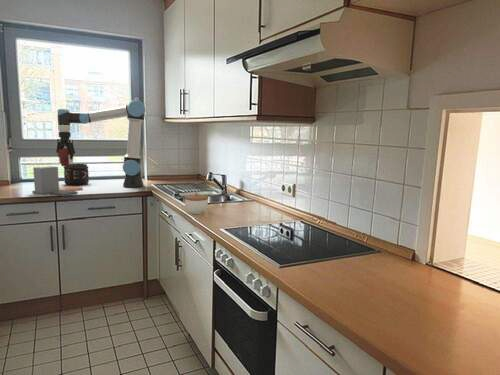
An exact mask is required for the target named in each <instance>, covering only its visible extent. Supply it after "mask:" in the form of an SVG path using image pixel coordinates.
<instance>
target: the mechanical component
mask: <svg viewBox="0 0 500 375" xmlns="http://www.w3.org/2000/svg"><path fill="white" fill-rule="evenodd" d="M70 153H71V152H70ZM68 154H69V152H68V150H67V147H64V148H62V150H59V154H58V153H57V157H58V158H59V157H60V160H61V163H60V164H61V167H64V166H71V164H69V156H68ZM74 155H75V154H73V157H74Z"/></svg>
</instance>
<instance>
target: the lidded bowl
mask: <svg viewBox="0 0 500 375" xmlns="http://www.w3.org/2000/svg"><path fill="white" fill-rule="evenodd" d="M208 202H209V195H207V194H199V193H198V192H195V193H194V194H188V195H187V194H186V195H185V196H184V204H185V208H186V210H187V211H188V212H189V213H190V214H192V215H201V214H203V213H204V212H205V211H206V209H207V208H208Z"/></svg>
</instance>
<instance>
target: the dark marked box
mask: <svg viewBox="0 0 500 375" xmlns="http://www.w3.org/2000/svg"><path fill="white" fill-rule="evenodd" d="M63 176H64V181H63V182H64V184H65V185H66V186H74V187H81V186H87V185H88V184H89V183H90V180H89V178H90V177H89V166H88V164H86V163H73V164H71V166H63Z"/></svg>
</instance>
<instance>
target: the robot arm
mask: <svg viewBox="0 0 500 375" xmlns="http://www.w3.org/2000/svg"><path fill="white" fill-rule="evenodd" d="M145 112H146V106H145V104H144V103H143V102H142V101H141V100H137V99H136V100H135V99H133V100H131V101H130V102H129V103H128V104H124V106H120V107H119V106H117V107H113V108H105V109H100V110H99V109H98V110H94V111H93V110H92V111H87V112H83V111H82V112H75V111H73V112H72V111H70V109H68V108H59V109H58V110H57V128H58V130H57V131H58V133H57V134H58V138H57V140H56V141H57V144H56V153H57V155H58V154H59V150H62V148H67V150H68V152H69V154H68V156H69V164H74V156H73V154H74V155H75V154H76V151H75V147H74V141H73V139H70V138H71V137H72V136H71V124H82V125H86V124H90V123H94V122H102V121H107V120H114V119H120V118H126V119H127V120H128V131H127V146H126V154H125V155H124V156H123V164H122V170H123V172H124V173H125V176H124V181H123V183H122V187H123V188H127V189H133V188H134V189H135V188H137V189H138V188H142V187H144V185H145V184H144V182H143V178H142V165H141V164H142V160H141V159H142V157H141V156H140V145H141V135H142V134H141V133H142V123H143V122H144V121H145ZM70 152H71V153H70ZM58 161H59V162H58V164H61V160H60V157H58Z"/></svg>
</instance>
